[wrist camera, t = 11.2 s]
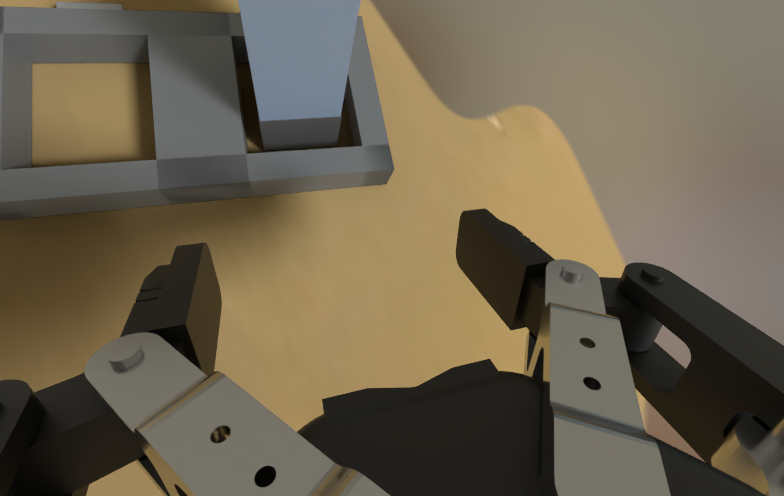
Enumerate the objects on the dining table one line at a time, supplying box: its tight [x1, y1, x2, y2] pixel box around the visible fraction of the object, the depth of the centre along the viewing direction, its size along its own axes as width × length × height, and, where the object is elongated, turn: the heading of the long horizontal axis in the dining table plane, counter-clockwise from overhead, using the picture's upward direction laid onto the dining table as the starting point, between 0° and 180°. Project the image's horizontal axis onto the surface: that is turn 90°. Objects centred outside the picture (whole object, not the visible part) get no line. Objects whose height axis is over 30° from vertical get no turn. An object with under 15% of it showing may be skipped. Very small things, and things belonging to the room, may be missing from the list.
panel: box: [0, 2, 394, 221], centre depth 20 cm, size 12×19×2 cm, turn 101°
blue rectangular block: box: [238, 0, 360, 152], centre depth 17 cm, size 5×4×12 cm
